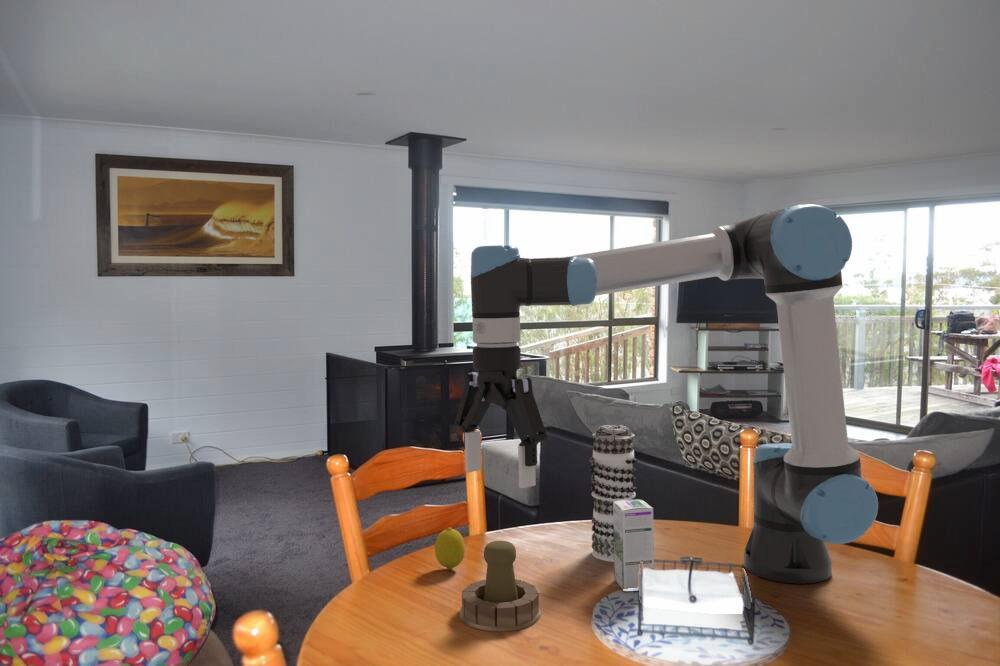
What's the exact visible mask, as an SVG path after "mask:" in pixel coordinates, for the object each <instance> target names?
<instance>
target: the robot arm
mask: <svg viewBox="0 0 1000 666" xmlns="http://www.w3.org/2000/svg"><path fill="white" fill-rule="evenodd" d="M852 250H853V237H852V234H851V231H850V229H849V227H848V224H847V222H846V221H845V220H844V219H843V218H842V217H841V215H839V214H837V212H836V211H834V210H832V209H831V208H829V207H826V206H823V205H821V204H820V205H818V204H796V205H793V206H788V207H786V208H783V209H779V210H773V211H769V212H768V211H767V212H765V213H762V214H760V215H759V214H758V215H757V216H753V217H751V218H749V219H748V218H747V219H745V220H742V221H738V222H734V223H731V224H726V225H720V226H716V227H715V228H713V230H712V231H711V233H707V234H702V235H701V234H700V235H694V236H693V235H692V236H688V237H682V238H681V237H680V238H676V239H669V240H663V241H657V242H656V241H655V242H651V243H645V244H638V245H633V246H625V247H619V248H613V249H608V250H601V251H595V252H594V251H593V252H590V253H583V254H577V255H570V256H564V257H563V256H562V257H538V258H537V257H536V258H528V257H521V255H520V252H519V248H518V247H517V246H515V245H482V246H476V248H474V249H473V250H472V252H471V257H470V258H471V259H470V261H471V262H470V288H471V289H470V292H471V293H470V296H471V318H472V343H474V344H476V345H475V346H474V347H473V348H472V367H473V369H474V370H475V371H472V372H467V373H465V375H464V377H465V378H464V388H463V392H462V394H461V398H460V402H459V405H458V409H457V412H456V417H455V418H454V426H456V427H460V428H461V432H463V447H464V456H465V457H464V459H465V462H464V463H465V472H466V473H473V472H477V471H482V440H481V438H482V437H481V435H482V433H481V430H480V429H481V427H480V424H481V422H482V420H483V418H484V416H485V415H486V413H487V412H488V409H489V407H490V405H492V404H494V405H496V406H500V408H502V410H504V411H505V412H506V414H507V416H508V418H509V420H510V422H511V424H512V425H513V428H514V429H515V432H516V433H517V436H518V437H519V439H520V441H521V442H519V443H518V445H517V448H518V449H517V450H518V452H517V454H518V488H519V489H526V488H530V487H535V486H536V485H537V483H536V482H537V481H536V478H537V477H536V466H537V464H538V444H539V443H541V442H544V441H545V442H546V441H547V440H548V434H547V432H546V428H545V425H544V423H543V420H542V417H541V413H540V411H539V408H538V405H537V402H536V399H535V395H534V393H533V392H534V391H533V382H532V379H531V377H524V378H518V376H517V372H518V370H520V368H521V367H522V362H521V361H522V360H521V359H522V358H521V356H522V355H521V352H522V351H521V347H520V346H519V345H518V344H517V343H520V342H521V338H522V337H521V317H520V315H521V313H520V311H521V310H520V309H521V307H523V306H525V307H530V306H533V307H534V306H535V307H537V306H539V307H540V306H546V307H547V306H548V307H550V306H572V307H575V306H581V305H589V304H592V303H593V302H594V300H595V298H596V296H602V295H609V294H614V293H620V292H627V291H632V290H638V289H645V288H651V287H652V288H653V287H657V286H658V287H659V286H665V285H669V284H670V285H671V284H677V283H684V282H689V281H694V280H695V281H697V280H701V279H708V278H714V277H717V278H719V279H720V280H721V281H725V282H726V281H730V280H740V279H757V280H758V279H760V280H761V279H763V281H764V283H763V285H764V292H765V296H766V297H768V298H769V299H770V300H771V301H773V302H775V304H776V310H777V321H778V329H779V330H778V331H779V338H780V340H779V341H780V346H781V349H780V350H781V357H782V367H783V375H784V377H783V378H784V384H785V385H784V386H785V394H786V396H785V397H786V402H787V403H786V404H787V411H788V413H787V414H788V423H789V429H790V430H789V431H790V439H791V442H784V443H783V442H781V443H777V442H776V443H763V444H760V445H758V446H757V447H756V448H755V449H754V458H753V462H752V465H753V525H752V529H751V531H750V534H749V537H748V540H747V542H746V545H745V547H744V551H743V567H744V568H745V569H746V571H748V572H750V574H752V575H755V576H757V577H760V578H763V579H766V580H768V581H769V580H770V581H773V582H774V581H775V582H778V583H779V582H780V583H786V584H799V585H800V584H802V585H805V584H815V583H820V582H824V581H826V580H828V579H829V578H831V576H832V568H833V567H832V566H833V565H832V563H833V562H832V557H831V556H830V552H829V549H828V546H827V543H828V544H833V545H842V544H849V543H852V542H854V541H857V540H858V539H861V537H863V536H864V535H865V534H866V532H867V531H868V530H869V529H870V528H872V526H873V524H874V522H875V521H876V518H877V516H878V512H879V511H878V510H879V501H878V500H879V499H878V496H877V494H876V491H875V489H874V488H873V486H872V485H871V484H870V483H869V481H868V480H866V479H865V478H864V477H863V473H862V463H861V457H860V453H859V452H858V451H857V450H856V449H854V448H853V447H852V446H851V445H850V444H849V439H848V438H849V437H848V429H847V421H846V412H845V411H846V410H845V409H846V408H845V401H844V391H843V390H844V389H843V382H842V371H841V361H840V352H839V351H840V350H839V342H838V333H837V331H838V330H837V322H836V321H837V320H836V314H835V302H834V299H835V296H836V294H838V292H840V290H841V289H842V288H843V286H844V285H843V275H842V270H843V269H844V268H845V265H846V264H847V263H848V261H849V260H850V257H851V255H852V252H853V251H852Z"/></svg>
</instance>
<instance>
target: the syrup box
mask: <svg viewBox="0 0 1000 666" xmlns="http://www.w3.org/2000/svg"><path fill="white" fill-rule="evenodd" d="M613 532H614V562H613V576H614V578H613V579H614V582H615V583H616V584H617V585H618V587H619V588H621V590H622V589H628V588H637V587H638V572H639V564H640V561H641V560H643V566H644V567H649V568H654V569H655V536H654V534H655V533H654V507H652V506H651V505H649V504H648V503H647V502H646V501H644V500H643V499H641V498H640V499H639V498H637V499H636V498H635V499H634V498H633V499H628V500H620V501H613Z"/></svg>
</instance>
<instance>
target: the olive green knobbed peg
mask: <svg viewBox="0 0 1000 666" xmlns="http://www.w3.org/2000/svg"><path fill="white" fill-rule="evenodd" d="M483 558H484V562H486V564H487V566H486V575H485V580H486V583H485V592H484V601H487V602H494V603H503V602H512V601H515V600H518V594H517V587H516V581H515V579H516V576H515V569H514V563H515V562H516V558H517V549H516V547H515V545H514V544H513V543H511V541H506V540H493V541H490V542H488V543H487V544H486V545H485V546H484V550H483Z"/></svg>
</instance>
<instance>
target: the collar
mask: <svg viewBox="0 0 1000 666" xmlns="http://www.w3.org/2000/svg"><path fill="white" fill-rule="evenodd" d="M515 581H516V587H517V594H518V600H515V601H512V602H503V603H494V602H487V601H484V592H485V583H486V579H482V580H478V581H475V582H472V583H470V584H468V585H467V586H465V588H464V589H462V590H461V607H460V608H459V609H460V610H459V618H460V620H461V621H462V622H463V623H464V624H465V625H467V626H468V627H470V628H473V629H475V630H480V631H485V632H497V633H502V632H504V633H505V632H513V631H518V630H520V631H521V630H522V629H527V628H528V627H531V626H533V625H534V624H536V623H537V622H538V621H539V620H540V619H541V617H542V612H541V611H542V610H541V606H540V604H539V603H540V601H539V600H540V598H539V597H540V596H539V591H538V588H537V587H536V585H534V584H531V583H530V582H527V581H525V580H521V579H516V578H515Z"/></svg>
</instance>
